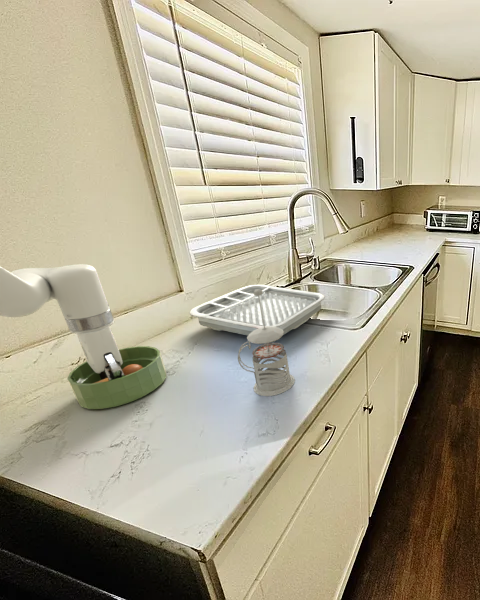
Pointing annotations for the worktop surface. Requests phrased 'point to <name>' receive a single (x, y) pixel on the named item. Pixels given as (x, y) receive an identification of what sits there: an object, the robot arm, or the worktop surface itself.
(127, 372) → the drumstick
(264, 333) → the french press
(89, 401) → the green shallow bowl
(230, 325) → the dish rack
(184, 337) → the worktop surface
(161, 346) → the worktop surface
